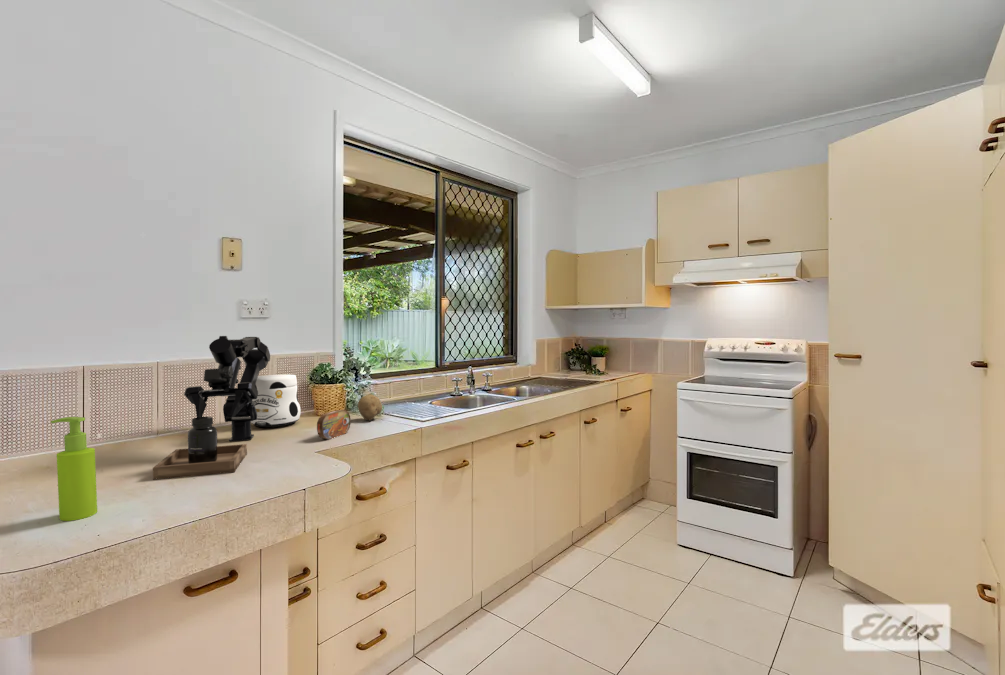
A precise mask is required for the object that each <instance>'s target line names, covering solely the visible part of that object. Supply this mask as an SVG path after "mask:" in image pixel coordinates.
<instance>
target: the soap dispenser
mask: <svg viewBox="0 0 1005 675" xmlns="http://www.w3.org/2000/svg"><path fill="white" fill-rule="evenodd" d="M84 421H86V417H85V416H84V417H83V416H82V417H80V416H66V417H61V418H57V419H53V420H50V421H49V422H50V423H51V424H54V423H55V424H56V423H64V422H65V423H69V427H68V428H69V432H68V433H67V434H65V435H64V436H63V439H64V440H63V441H64V442H63V443H64V450H63V451H60V452H57V454H56V470H57V471H56V472H57V490H58V491H57V492H58V493H57V494H58V513H59V514H58V518H59V520H60V521H63V522H71V521H78V520H82V519H86V518H89V517H91V516H94V515H95V514H97V513H98V497H97V495H98V493H97V477H96V476H97V472H96V449H95V448H94V447H88V446H87V433H86V432H83V431H82V430H81V422H84Z"/></svg>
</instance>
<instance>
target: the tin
mask: <svg viewBox="0 0 1005 675" xmlns="http://www.w3.org/2000/svg"><path fill="white" fill-rule="evenodd" d="M351 422H352V420H351V416H350V413H349V412H348V411H347V410H346V409H337V410H333V411H330V412H327V413H324V414H322V415H320V416H319V417H318V420H317V422H316V432H317V435H318V437H319V438H320V439H322V440H333V439H335V438H337V436H338V437H341V436H342V435H343V436H344V435H346V434H347V433H348V432H349V430H350V428H351ZM340 435H341V436H340ZM334 437H335V438H334ZM332 438H333V439H332Z"/></svg>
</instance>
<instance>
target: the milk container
mask: <svg viewBox="0 0 1005 675" xmlns="http://www.w3.org/2000/svg"><path fill="white" fill-rule="evenodd" d="M255 387H256V389H257V390H258V396H257V399H253V400H252V401H253V403H254V406H255V408H256V411H257V420H254V421H251V425H253V426H256V427H260V428H261V427H262V428H273V427H274V428H275V427H277V428H278V427H282V426H287V425H291V424H294V423H296V422H297V421H299V420H300V419H301V405H300V402H299V398H298V379H297V376H296V374H289V373H287V374H284V373H283V374H266V375H258V378H257V381H256V384H255Z"/></svg>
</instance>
